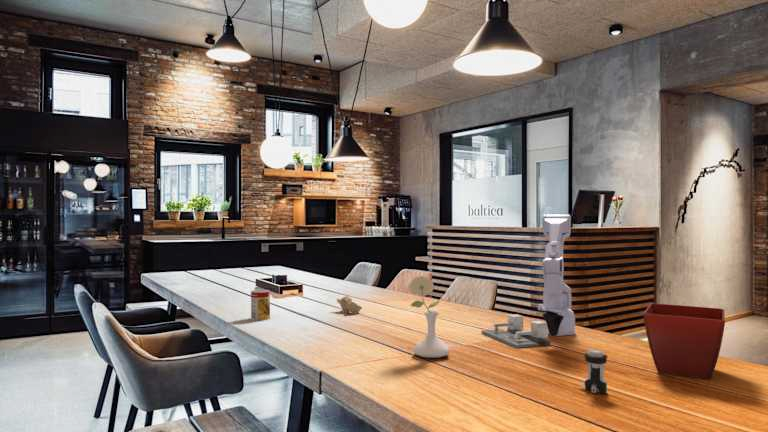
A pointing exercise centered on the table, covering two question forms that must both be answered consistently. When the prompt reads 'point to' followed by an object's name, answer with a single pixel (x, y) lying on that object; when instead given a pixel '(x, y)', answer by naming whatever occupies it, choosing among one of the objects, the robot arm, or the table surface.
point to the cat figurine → (348, 305)
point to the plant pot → (684, 338)
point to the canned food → (260, 305)
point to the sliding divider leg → (536, 330)
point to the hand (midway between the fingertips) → (553, 335)
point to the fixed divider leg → (512, 323)
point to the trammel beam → (539, 340)
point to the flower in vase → (431, 343)
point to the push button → (595, 372)
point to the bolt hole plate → (509, 338)
